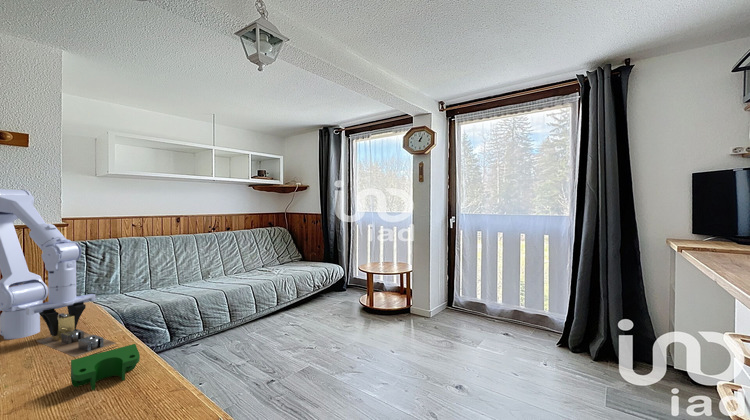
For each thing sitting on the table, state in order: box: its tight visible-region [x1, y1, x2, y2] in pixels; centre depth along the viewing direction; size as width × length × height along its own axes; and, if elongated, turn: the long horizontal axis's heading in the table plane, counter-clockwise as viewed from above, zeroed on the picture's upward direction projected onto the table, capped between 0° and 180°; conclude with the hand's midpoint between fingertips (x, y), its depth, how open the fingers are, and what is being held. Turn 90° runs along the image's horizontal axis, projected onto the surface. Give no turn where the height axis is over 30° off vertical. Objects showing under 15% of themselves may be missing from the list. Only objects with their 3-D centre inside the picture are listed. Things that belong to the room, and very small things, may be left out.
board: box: [35, 331, 118, 358], centre depth 89 cm, size 22×9×1 cm, turn 65°
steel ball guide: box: [61, 328, 105, 353], centre depth 87 cm, size 14×3×2 cm, turn 65°
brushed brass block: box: [51, 312, 75, 341], centre depth 92 cm, size 4×4×7 cm
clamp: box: [70, 343, 141, 391], centre depth 71 cm, size 12×6×9 cm, turn 131°
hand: (63, 332), depth 92 cm, fingers closed on brushed brass block, 3 cm apart
